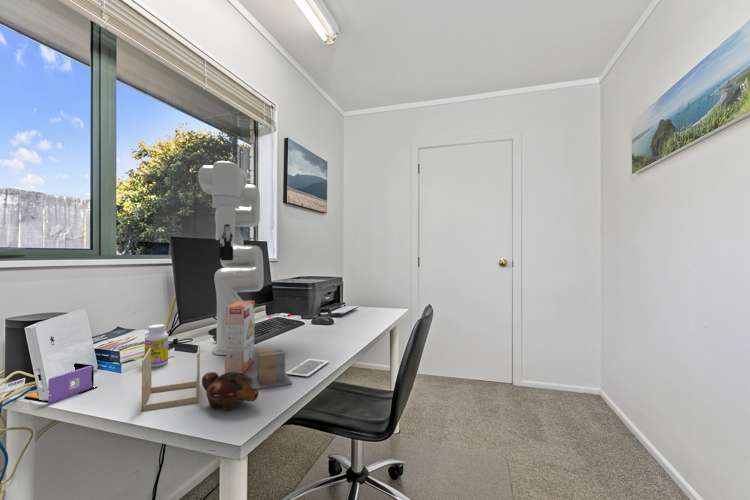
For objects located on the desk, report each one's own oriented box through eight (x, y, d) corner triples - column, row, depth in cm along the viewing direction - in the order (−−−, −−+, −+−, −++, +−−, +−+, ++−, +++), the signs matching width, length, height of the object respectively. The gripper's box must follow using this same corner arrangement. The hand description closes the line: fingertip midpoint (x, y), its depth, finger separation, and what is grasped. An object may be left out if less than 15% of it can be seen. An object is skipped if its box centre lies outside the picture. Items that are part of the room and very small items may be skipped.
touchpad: (329, 364, 116) (329, 357, 116) (307, 379, 102) (308, 372, 102) (308, 361, 118) (308, 355, 118) (284, 376, 104) (284, 369, 104)
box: (257, 378, 100) (257, 351, 100) (281, 374, 103) (281, 348, 103) (259, 384, 96) (259, 356, 96) (284, 380, 99) (284, 352, 99)
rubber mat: (250, 377, 102) (250, 376, 102) (285, 372, 106) (285, 371, 106) (254, 390, 93) (254, 388, 93) (291, 384, 97) (291, 382, 97)
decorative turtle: (214, 395, 90) (214, 364, 90) (268, 400, 87) (268, 368, 87) (187, 412, 80) (187, 378, 80) (246, 418, 77) (247, 383, 77)
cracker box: (244, 375, 104) (245, 306, 104) (224, 375, 104) (224, 306, 104) (255, 360, 118) (255, 299, 118) (237, 361, 118) (237, 300, 118)
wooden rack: (149, 393, 91) (149, 347, 91) (199, 385, 96) (199, 342, 96) (141, 412, 80) (141, 360, 80) (198, 402, 85) (198, 354, 85)
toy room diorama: (101, 388, 94) (101, 364, 94) (49, 408, 83) (50, 379, 83) (68, 384, 97) (68, 360, 97) (15, 402, 86) (15, 375, 86)
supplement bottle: (139, 368, 110) (139, 328, 110) (152, 361, 117) (152, 323, 117) (160, 367, 110) (161, 328, 111) (172, 361, 117) (172, 323, 117)
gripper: (211, 205, 110) (211, 258, 111) (213, 199, 95) (213, 261, 95) (236, 206, 114) (236, 258, 114) (242, 201, 98) (242, 260, 99)
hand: (225, 259), depth 105 cm, fingers open, 9 cm apart
